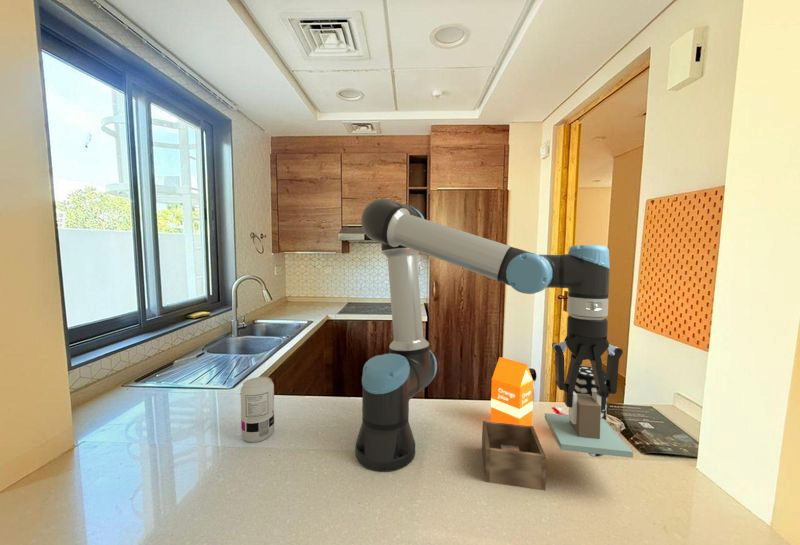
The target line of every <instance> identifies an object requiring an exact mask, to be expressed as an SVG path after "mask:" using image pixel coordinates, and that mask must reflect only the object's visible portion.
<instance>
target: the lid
mask: <svg viewBox="0 0 800 545" xmlns="http://www.w3.org/2000/svg"><path fill="white" fill-rule="evenodd" d="M576 394H577V420H576V424H572V422H571V421H570V419H569V414H568V415H567V414H558V413H557V414H556V413H547V412H546V413H545V412H544V420H545V422H546V423H547V426H548V427H549V430H550V431H551V433H552V436H553V437H554V439H555V441H556V443H557V445H558V446H559V449H560V451H568V452H576V453H577V452H578V453H587V454H589V453H594V454H603V455H602V456H614V457H622V458H630V459H633V458H634V452H633V451H634V450H632V448H630V447H629V446H628V445H627V443H626V442H625V441H624V440H623V439H622V438H621V437H620V436H619V434H618V433H617V432H616V431H615V430H614V429H613V428H612V426H611V425H610V424H609V422H607V420H606V421H605V420H604V419H602V418H601V406H600V405H599V404H598V403H597V402H596V401H595V400H594V399H593V398H592V396H591V395H590V394H581V393H576ZM600 418H601V425H600Z"/></svg>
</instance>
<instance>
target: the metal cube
mask: <svg viewBox="0 0 800 545" xmlns="http://www.w3.org/2000/svg"><path fill="white" fill-rule="evenodd" d="M501 449H504V450H513V451H520V450H519V447H518V446H509V445H501Z"/></svg>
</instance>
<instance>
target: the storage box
mask: <svg viewBox="0 0 800 545" xmlns="http://www.w3.org/2000/svg"><path fill="white" fill-rule="evenodd" d="M481 426H482V428H481V429H482V430H481V431H482V432H481V433H482V434H481V437H482V439H481V452H482V462H483V470H484V478H485V483H489V484H495V485H496V484H497V485H505V486H509V487H510V486H511V487H518V488H525V489H531V490H532V489H533V490H538V491H546V474H547V473H546V472H547V471H546V469H547V466H546V464H547V456H546V454H545V451H544V448H543V446H542V444H541V442H540V439H539V437H538V434H537V432H536V429H535V428H534V426H533V425H532V426H526V425H516V424H507V423H497V422H491V421H489V420H488V421H484V420H483V421H482V425H481ZM501 445H509V446H518V447H519V450H520V451H513V450H504V449H501Z"/></svg>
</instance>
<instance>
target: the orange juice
mask: <svg viewBox="0 0 800 545" xmlns="http://www.w3.org/2000/svg"><path fill="white" fill-rule="evenodd" d="M490 391H491V394H490V395H491V398H490V422H497V423H507V424H516V425H526V426H533V406H534V405H533V404H534V402H533V401H534V379H533V376H532V374H531V371H530V369H529V366H528V364H527V363H524V362H519V361H516V360H513V359H509V358H505V357H501V356H499V358H498V360H497V363H496V366H495V369H494V371H493V375H492V377H491V390H490Z"/></svg>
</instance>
